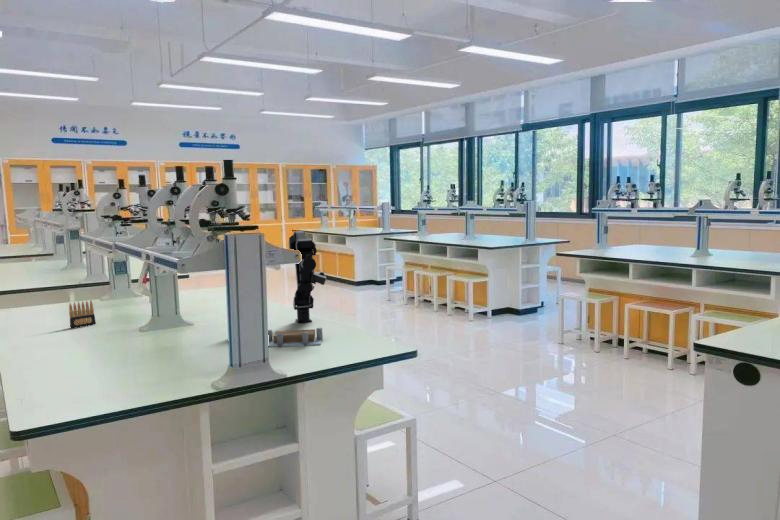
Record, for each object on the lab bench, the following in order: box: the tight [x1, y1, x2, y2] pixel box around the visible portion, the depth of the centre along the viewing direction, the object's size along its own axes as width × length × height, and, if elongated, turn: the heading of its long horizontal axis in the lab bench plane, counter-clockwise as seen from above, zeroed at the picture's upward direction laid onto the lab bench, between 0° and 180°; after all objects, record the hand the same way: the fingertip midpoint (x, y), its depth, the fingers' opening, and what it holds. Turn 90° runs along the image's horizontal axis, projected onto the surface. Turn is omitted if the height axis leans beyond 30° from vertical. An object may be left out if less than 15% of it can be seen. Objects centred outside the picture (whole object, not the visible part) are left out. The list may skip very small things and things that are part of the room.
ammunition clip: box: [68, 300, 97, 329], centre depth 273 cm, size 11×2×12 cm, turn 129°
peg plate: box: [267, 327, 324, 348], centre depth 234 cm, size 10×23×5 cm, turn 92°
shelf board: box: [272, 328, 316, 343], centre depth 236 cm, size 3×16×8 cm
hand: (307, 303), depth 251 cm, fingers closed
